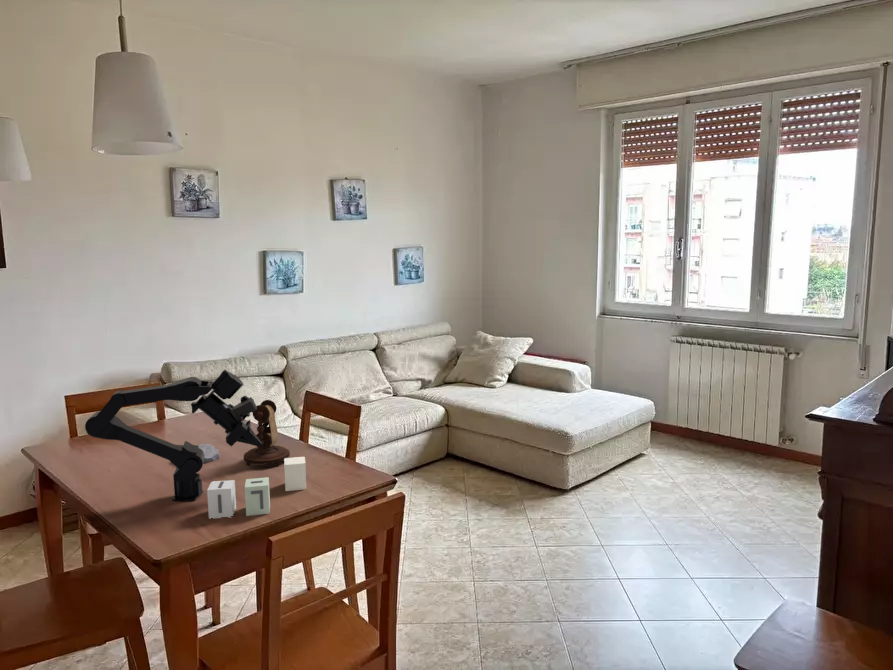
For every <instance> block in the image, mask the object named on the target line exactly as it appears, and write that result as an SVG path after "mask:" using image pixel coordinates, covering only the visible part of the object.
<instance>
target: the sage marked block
mask: <svg viewBox="0 0 893 670" xmlns="http://www.w3.org/2000/svg"><path fill="white" fill-rule="evenodd" d="M244 498H245V499H244V500H245V515H246V517H249V516H259V515H268V514H270V513H271V512H270V511H271V500H270V499H271V498H270V478H269V476H268V477H267V476H266V477H257V478H246V479H245V484H244Z"/></svg>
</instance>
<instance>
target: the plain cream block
mask: <svg viewBox="0 0 893 670" xmlns="http://www.w3.org/2000/svg"><path fill="white" fill-rule="evenodd" d="M283 461H284V464H283V465H284V466H283V467H284V469H283V470H284V490H285V492H290V491H300V490H301V491H302V490H307V474H306V473H307V471H306V470H307V469H306V468H307V467H306V457H305V456H295V457H288V458H284V460H283Z"/></svg>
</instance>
